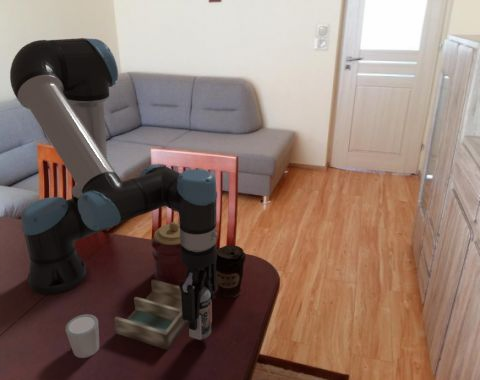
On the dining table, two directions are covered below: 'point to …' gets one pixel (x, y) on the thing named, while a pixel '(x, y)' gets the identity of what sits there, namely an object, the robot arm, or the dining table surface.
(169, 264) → the canister
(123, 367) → the dining table surface
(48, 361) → the dining table surface
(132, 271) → the dining table surface
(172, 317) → the caddy
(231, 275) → the coffee cup
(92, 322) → the shot glass
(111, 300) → the dining table surface
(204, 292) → the beer can
